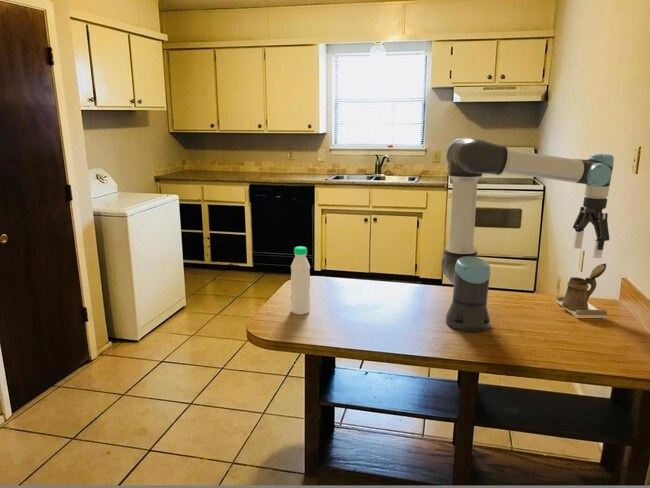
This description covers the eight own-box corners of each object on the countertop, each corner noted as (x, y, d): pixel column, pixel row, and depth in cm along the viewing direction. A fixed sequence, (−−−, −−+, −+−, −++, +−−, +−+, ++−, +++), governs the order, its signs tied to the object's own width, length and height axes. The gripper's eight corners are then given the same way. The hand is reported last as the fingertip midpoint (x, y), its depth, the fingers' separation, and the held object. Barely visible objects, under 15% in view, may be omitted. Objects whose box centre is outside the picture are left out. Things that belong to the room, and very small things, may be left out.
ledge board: (576, 318, 182) (578, 311, 181) (555, 303, 198) (556, 296, 197) (605, 318, 183) (607, 311, 182) (582, 303, 198) (583, 296, 197)
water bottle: (310, 308, 188) (311, 245, 181) (308, 315, 181) (308, 250, 175) (292, 307, 188) (292, 244, 182) (289, 314, 182) (289, 249, 175)
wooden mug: (604, 313, 184) (612, 267, 180) (566, 310, 186) (573, 265, 181) (594, 304, 193) (601, 260, 188) (558, 302, 194) (564, 258, 190)
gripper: (627, 202, 167) (616, 262, 173) (587, 192, 192) (579, 244, 197) (605, 202, 167) (595, 262, 173) (568, 191, 191) (560, 244, 197)
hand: (586, 253), depth 185 cm, fingers open, 13 cm apart
